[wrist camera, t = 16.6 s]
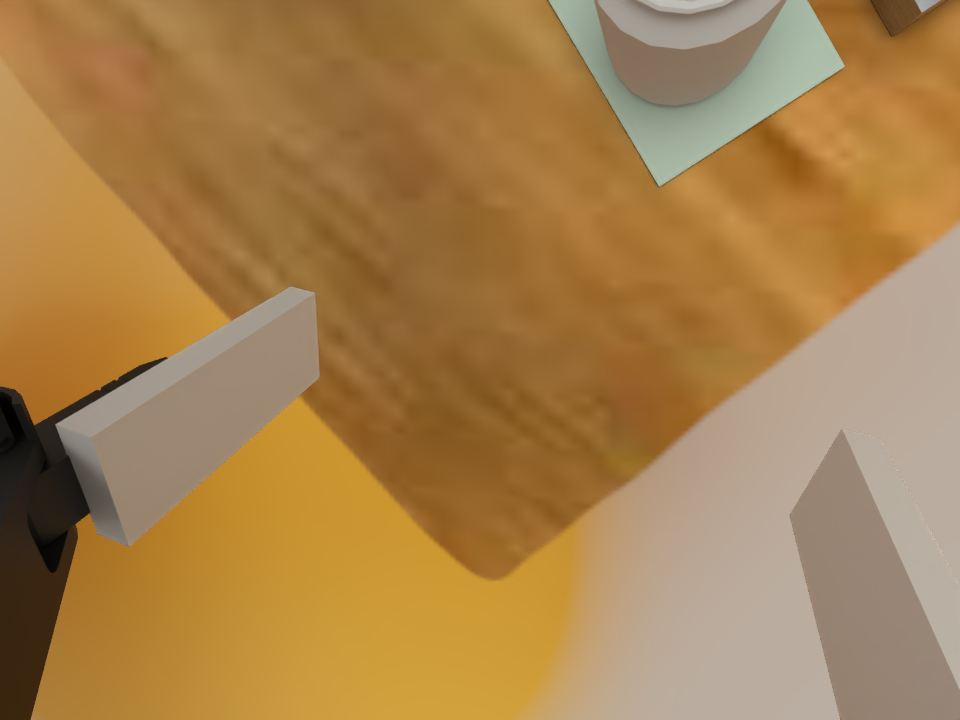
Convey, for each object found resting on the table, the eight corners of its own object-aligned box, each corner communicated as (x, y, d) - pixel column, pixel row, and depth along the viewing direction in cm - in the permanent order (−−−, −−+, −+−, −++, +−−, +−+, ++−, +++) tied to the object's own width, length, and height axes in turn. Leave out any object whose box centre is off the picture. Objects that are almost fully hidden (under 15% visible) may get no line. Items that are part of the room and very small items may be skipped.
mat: (546, -4, 29) (544, -7, 28) (716, -152, 25) (717, -158, 25) (659, 187, 29) (659, 186, 29) (842, 68, 26) (845, 66, 25)
